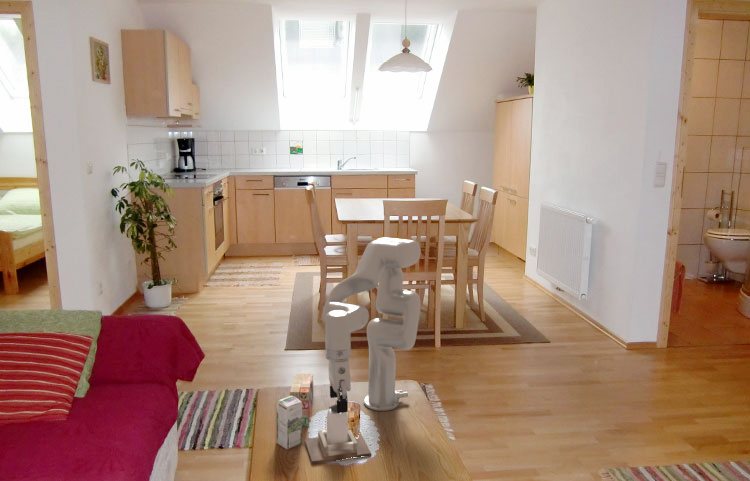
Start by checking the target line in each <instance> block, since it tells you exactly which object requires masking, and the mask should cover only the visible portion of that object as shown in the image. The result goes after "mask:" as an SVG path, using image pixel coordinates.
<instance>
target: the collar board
mask: <svg viewBox="0 0 750 481" xmlns="http://www.w3.org/2000/svg"><path fill="white" fill-rule="evenodd" d="M317 432H318V433H317V435H318V436H317V437H310V438H304V443H305V446H306V450H307V453H308V456H309V457H308V458H310V459H309V460H310V461H311V463H310V464H311V465H317V464H324V463H331V461H333V462H337V461H336V460H340V461H343V460H342V459H346V458H351V457H352V458H353V457H361V456H368V457H372V451H371V450H370V448H369V446H368V444H367V442H366V440H365V438H364V436H363V434H362V432H361V431H359V432H360V434H359V438H358V439H355V437H354V435H353V433H354V432H353V431H352V430H348V442H345V443H338V444H330V445H328V444H327V429H323V430H318V431H317ZM361 458H362V457H361Z"/></svg>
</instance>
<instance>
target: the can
mask: <svg viewBox="0 0 750 481" xmlns="http://www.w3.org/2000/svg"><path fill="white" fill-rule="evenodd" d="M348 427H349V413H348V411H347V412H344V413H337V404H334V405H331V406H329V407H328V411H327V413H326V430H327V444H328V445H330V444H338V443H345V442H348Z"/></svg>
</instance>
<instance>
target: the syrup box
mask: <svg viewBox="0 0 750 481" xmlns="http://www.w3.org/2000/svg"><path fill="white" fill-rule="evenodd" d="M302 439H303V426H302V402H301V401H300V400H299V399H297V398H296V397H294V396H290V395H289V396H286V397H284V398H281V399H278V400H276V443H277V444H278V445H279V446H281V447H282V448H284V449H286V450H287V451H288V450H291V449H292V448H294V447H297V446H299V445H301V444H302V443H303V440H302Z"/></svg>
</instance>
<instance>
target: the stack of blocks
mask: <svg viewBox="0 0 750 481" xmlns="http://www.w3.org/2000/svg"><path fill="white" fill-rule="evenodd" d="M289 396H294V397H296V398H297V399H299V400H300V401H301V402H302V427H303V426H307V425H309V426H310V421H311V416H312V406H313V404H314V373H296V374H295V376H293V380H292V384H291V388H290V390H289Z"/></svg>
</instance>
